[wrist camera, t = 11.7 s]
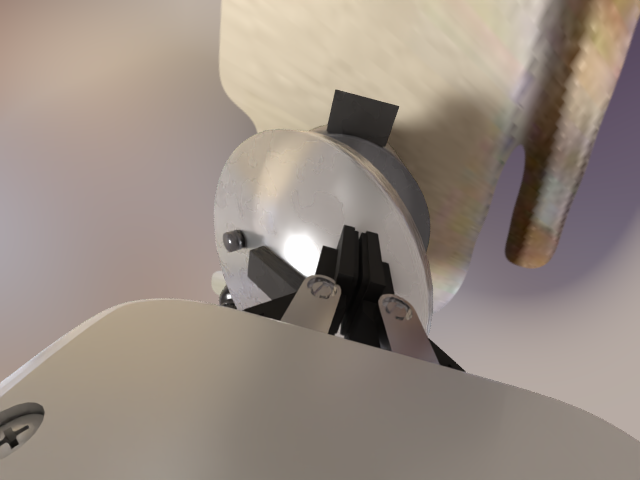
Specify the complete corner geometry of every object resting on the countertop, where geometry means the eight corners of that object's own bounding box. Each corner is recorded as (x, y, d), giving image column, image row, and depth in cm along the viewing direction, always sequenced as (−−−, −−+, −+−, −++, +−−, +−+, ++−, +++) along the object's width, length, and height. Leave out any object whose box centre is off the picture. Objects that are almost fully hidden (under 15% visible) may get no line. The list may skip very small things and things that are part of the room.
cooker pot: (287, 78, 27) (242, 64, 17) (443, 119, 27) (494, 131, 17) (264, 249, 39) (231, 302, 29) (372, 278, 39) (377, 342, 29)
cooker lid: (233, 99, 18) (196, 93, 16) (526, 211, 9) (522, 229, 7) (226, 288, 28) (203, 298, 26) (362, 434, 18) (342, 467, 17)
